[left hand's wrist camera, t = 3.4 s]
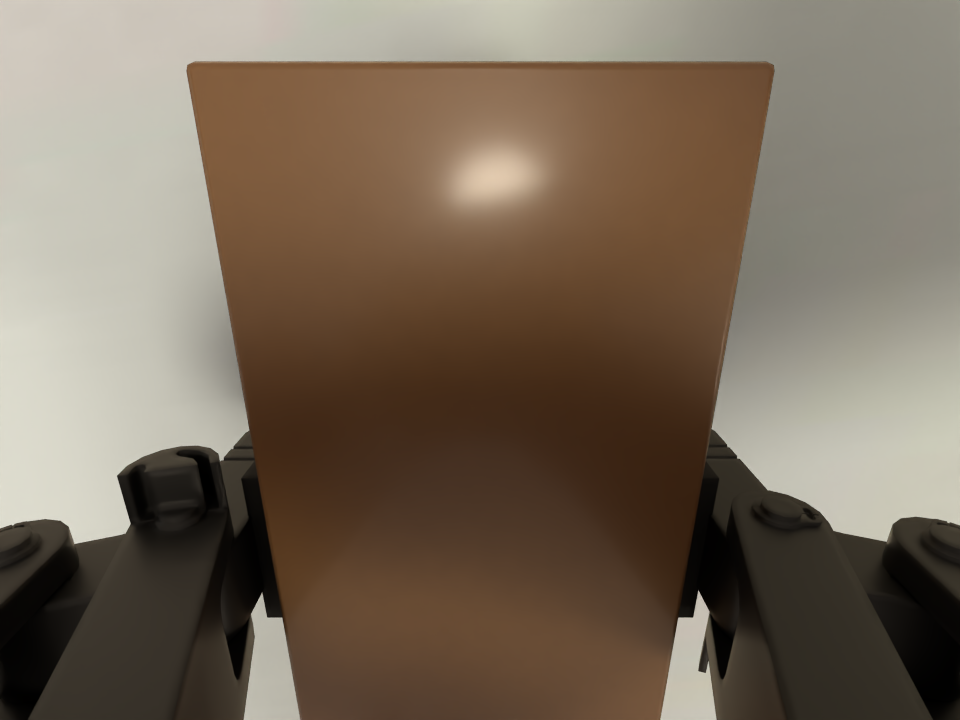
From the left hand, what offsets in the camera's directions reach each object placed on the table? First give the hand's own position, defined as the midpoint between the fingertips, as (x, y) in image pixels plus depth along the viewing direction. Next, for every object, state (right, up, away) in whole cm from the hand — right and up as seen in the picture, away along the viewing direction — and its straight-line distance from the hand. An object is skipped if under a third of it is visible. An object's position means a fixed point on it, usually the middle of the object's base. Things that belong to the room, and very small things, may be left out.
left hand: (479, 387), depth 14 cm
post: (0, -21, +8) cm, 22 cm away
